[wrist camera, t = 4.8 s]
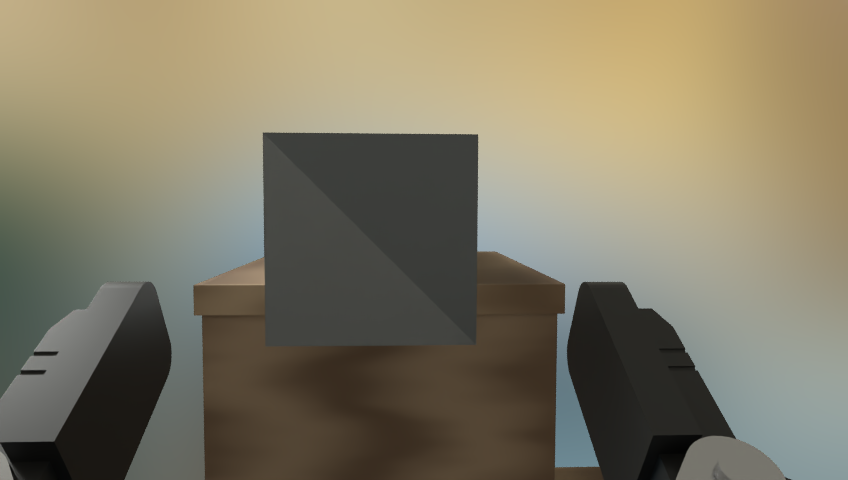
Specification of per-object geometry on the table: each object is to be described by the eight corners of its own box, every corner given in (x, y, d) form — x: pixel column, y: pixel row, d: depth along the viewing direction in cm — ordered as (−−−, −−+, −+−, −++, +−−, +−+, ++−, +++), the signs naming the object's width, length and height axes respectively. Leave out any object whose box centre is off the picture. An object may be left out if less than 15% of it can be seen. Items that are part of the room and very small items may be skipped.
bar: (265, 346, 11) (262, 132, 11) (353, 250, 35) (353, 181, 35) (476, 344, 12) (478, 134, 11) (421, 250, 36) (422, 181, 35)
